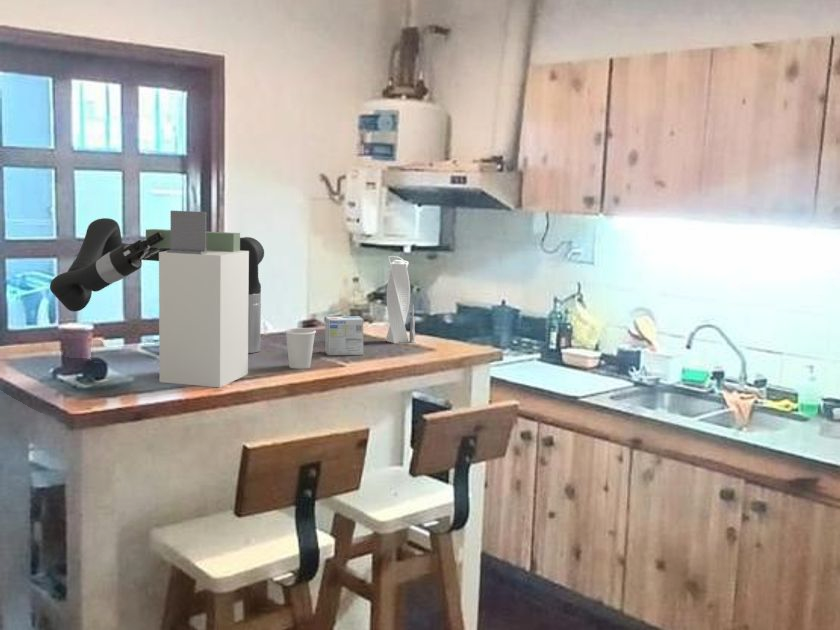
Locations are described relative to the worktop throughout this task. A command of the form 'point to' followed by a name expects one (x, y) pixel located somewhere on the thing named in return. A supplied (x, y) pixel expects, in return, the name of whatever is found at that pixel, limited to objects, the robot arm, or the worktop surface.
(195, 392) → the worktop surface
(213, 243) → the green bar
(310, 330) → the dixie cup
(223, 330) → the tall white pillar
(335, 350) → the light bulb box
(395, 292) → the skyscraper
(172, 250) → the bookend
